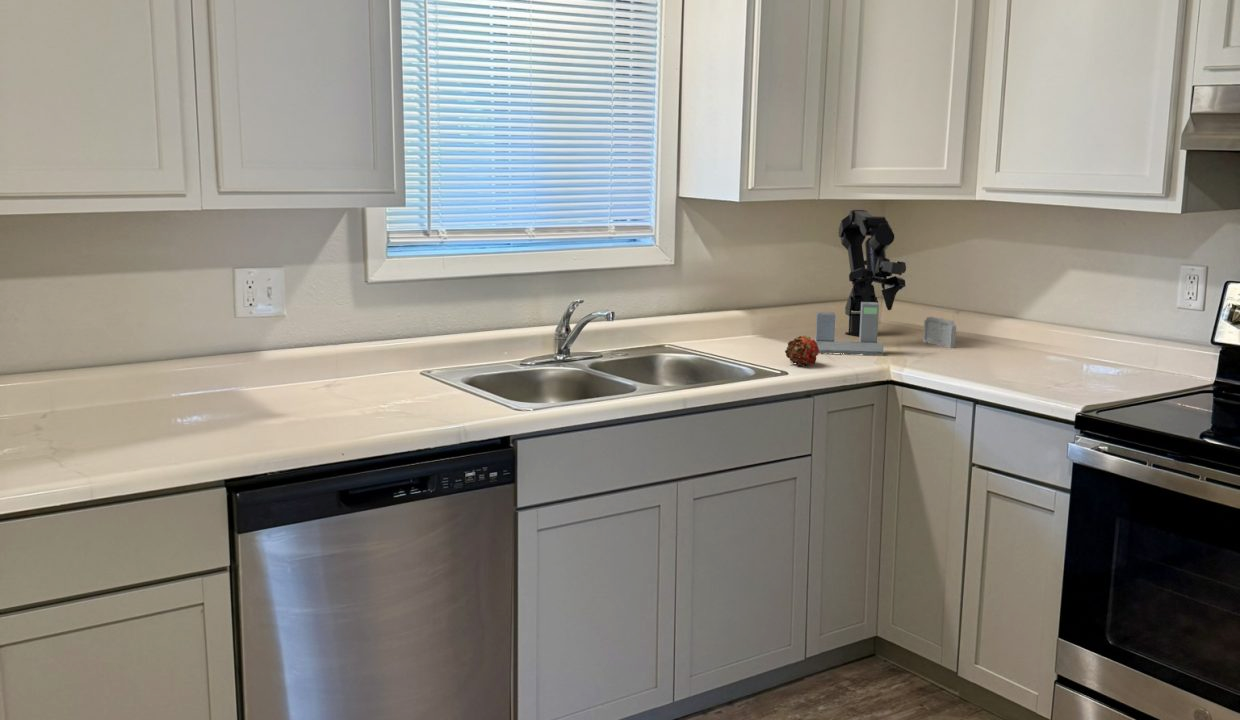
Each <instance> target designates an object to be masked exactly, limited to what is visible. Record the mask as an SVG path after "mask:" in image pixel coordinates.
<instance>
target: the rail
mask: <svg viewBox="0 0 1240 720" xmlns="http://www.w3.org/2000/svg"><path fill="white" fill-rule="evenodd" d="M815 321H816V323H815V342H816V343H817V345H818V349H819V353H842V354H843V353H844V354H863V355H862V356H871V355H883V356H884V342H877V343H864V342H859V341H857V342H856V341H835V332H836V331H835V330H836V328H835V327H836V313H835V311H834V312H832V311H829V312H828V311H826V312H825V311H824V312H823V311H817V312H816V320H815Z"/></svg>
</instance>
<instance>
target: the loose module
mask: <svg viewBox="0 0 1240 720" xmlns="http://www.w3.org/2000/svg"><path fill="white" fill-rule="evenodd" d="M879 311H880V304H879V302H878V303H877V302H861V311H860V312H861V314H860V334H859V336H858V342H864V343H878V330H879V329H878V328H879Z"/></svg>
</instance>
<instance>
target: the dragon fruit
mask: <svg viewBox="0 0 1240 720" xmlns="http://www.w3.org/2000/svg"><path fill="white" fill-rule="evenodd" d="M784 353H785V356H786V358H787V359H789V361H790V362H791V363H792V364H793V363H796V364H795V365H798V366H800V365H805V366H807V364H809V365H811V364H812V365H813V364H815V363H816V361H817V356H819V354H818V353H819V349H818V345H817V343H816V340H814V339H812V338H811V337H810V336H807V335H802V336H801V335H799V336H797V337H795V338H794V339H793V340H790V341H788V342H787V347H786V349H785V350H784Z"/></svg>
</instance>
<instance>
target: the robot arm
mask: <svg viewBox="0 0 1240 720" xmlns="http://www.w3.org/2000/svg"><path fill="white" fill-rule="evenodd" d="M837 233H838V238H840V242H841V245H842V246H843V247H844V248H845V249H846V250H847V254H848V262H849V269H850V273H849V274H848V282H851V283H852V284H851V285H852V288H851V291H850V292H849V293H850V294H849V295H848V298H847V301H846V303H845V304H846V305H845V307H844V311H845V315H846V316H848V331H846V332H844V334H845V335H850V336H856V337H859V334H860V314H861V302H877V303H878V304H879V301H878V297H877V296H876V292H875V287H874V285H873V283H877V284H881V288H882V290H881V293H882V296H883V300H884V304H885V307H886V309H887V311H891V310H892V308H893V305H894V302H895V298H896V295H897V293H898V292H899V291H900V290H902V289H903V288H906V280H905V278H903V277H900V276H903V274H905V273H906V271H907V265H906V262H904V261H897V262H895V261H891V260H890V259H889V258H887V257H886V255H887V254H886V250H888V248H889V247H890V246H891V244H893V242H894V240H895V233H894V232H893V229H892V227H891V226H890V224H889V221H888V220H887V219H886V217H885V216H877V215H876V216H873V215H872V214H871V213H869V212H868V211H867V210H865V209H851V210H850V211H849V214H848V215H846V216H845V217H844V218H842V220H840V224H839V227H838V232H837ZM867 236H868V237H869V238H868V239H867ZM865 240H866V241H865ZM863 245H864V247H865V257H864V251H863ZM893 275H894V276H893ZM896 275H898V276H896Z"/></svg>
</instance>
